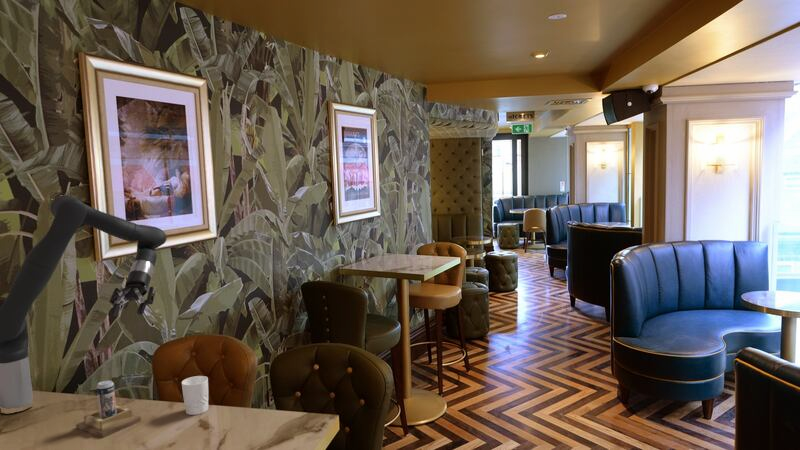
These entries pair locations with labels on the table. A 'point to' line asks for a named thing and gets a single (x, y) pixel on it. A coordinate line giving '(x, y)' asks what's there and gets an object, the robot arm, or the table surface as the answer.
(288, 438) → the table surface
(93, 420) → the caddy
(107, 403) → the beer can
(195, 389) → the white cup
